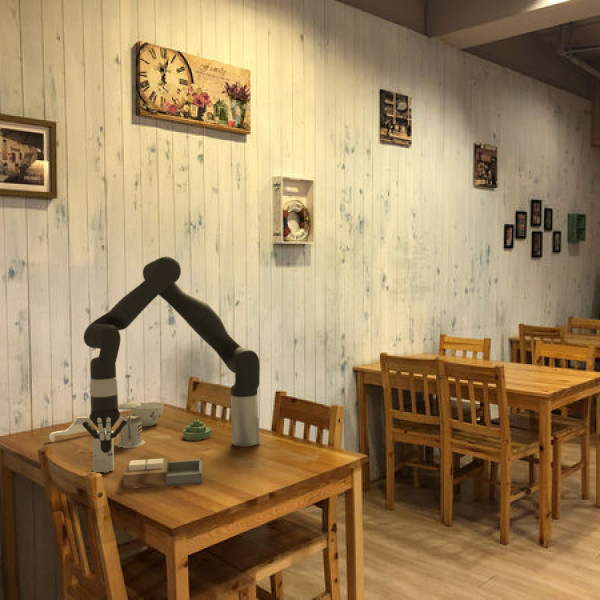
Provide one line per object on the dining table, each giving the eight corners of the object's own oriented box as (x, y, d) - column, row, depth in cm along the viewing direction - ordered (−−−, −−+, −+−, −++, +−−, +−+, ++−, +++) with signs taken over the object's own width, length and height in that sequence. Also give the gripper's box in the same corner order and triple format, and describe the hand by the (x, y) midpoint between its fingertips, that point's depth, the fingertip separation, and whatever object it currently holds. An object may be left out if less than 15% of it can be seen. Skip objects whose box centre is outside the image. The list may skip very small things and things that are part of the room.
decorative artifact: (190, 442, 226) (216, 437, 231) (190, 423, 225) (215, 418, 231) (179, 436, 234) (203, 431, 240) (178, 417, 233) (203, 413, 239)
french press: (146, 439, 231) (143, 370, 229) (143, 448, 220) (140, 376, 218) (118, 441, 229) (115, 372, 228) (114, 450, 218) (111, 378, 216)
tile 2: (163, 463, 190) (163, 458, 190) (162, 468, 185) (162, 463, 185) (148, 464, 189) (147, 459, 189) (146, 469, 185) (146, 464, 185)
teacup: (170, 424, 251) (169, 404, 251) (141, 430, 243) (140, 410, 242) (151, 418, 262) (150, 398, 262) (123, 423, 254) (122, 404, 253)
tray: (202, 468, 196) (201, 459, 196) (202, 483, 183) (201, 473, 183) (169, 471, 195) (168, 461, 194) (166, 486, 182) (166, 475, 182)
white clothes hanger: (92, 449, 241) (46, 440, 230) (101, 420, 243) (57, 410, 232) (94, 450, 240) (48, 441, 228) (103, 421, 242) (59, 411, 231)
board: (169, 471, 194) (168, 459, 194) (166, 485, 182) (166, 471, 182) (128, 474, 192) (128, 461, 192) (123, 489, 180) (123, 475, 180)
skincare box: (93, 474, 194) (91, 434, 193) (94, 469, 199) (92, 431, 198) (114, 471, 196) (112, 433, 195) (114, 467, 200) (113, 429, 199)
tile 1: (146, 464, 189) (146, 459, 189) (145, 469, 185) (144, 464, 185) (130, 465, 189) (130, 460, 188) (129, 470, 184) (128, 465, 184)
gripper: (129, 389, 189) (131, 447, 190) (82, 391, 187) (85, 449, 188) (126, 394, 181) (128, 454, 182) (77, 397, 179) (80, 457, 180)
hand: (106, 452), depth 185 cm, fingers closed
